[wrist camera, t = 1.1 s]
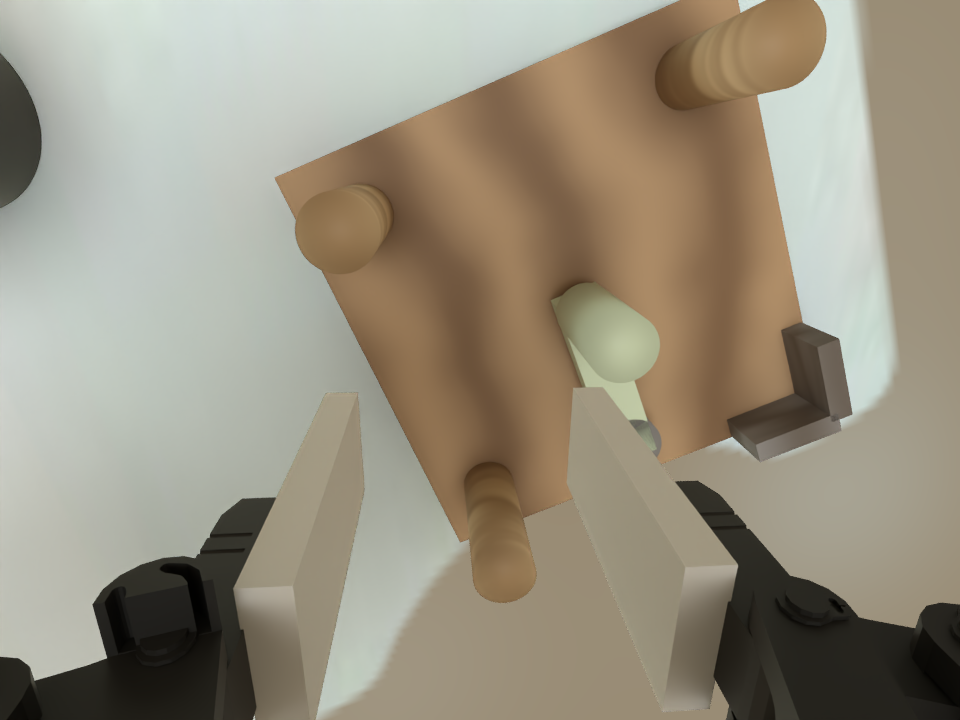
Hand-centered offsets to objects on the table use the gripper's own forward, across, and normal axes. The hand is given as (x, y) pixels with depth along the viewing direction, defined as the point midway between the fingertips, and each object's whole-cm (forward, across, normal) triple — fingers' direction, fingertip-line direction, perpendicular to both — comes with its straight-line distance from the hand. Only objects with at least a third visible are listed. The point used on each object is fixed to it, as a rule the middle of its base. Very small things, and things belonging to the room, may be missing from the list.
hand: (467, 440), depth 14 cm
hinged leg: (+15, +8, -4) cm, 17 cm away
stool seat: (+17, +6, 0) cm, 18 cm away
